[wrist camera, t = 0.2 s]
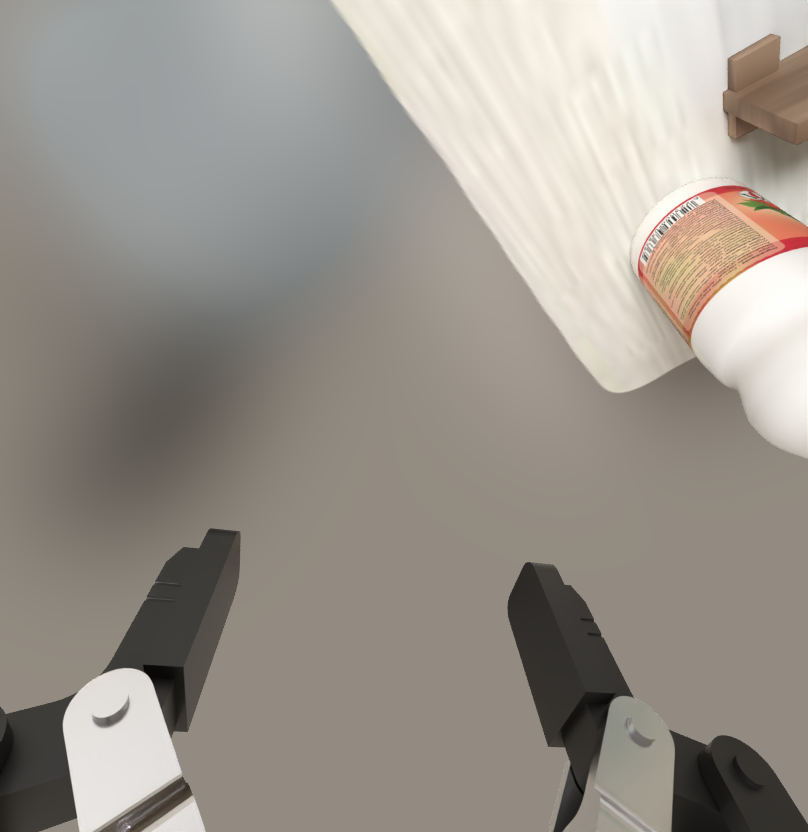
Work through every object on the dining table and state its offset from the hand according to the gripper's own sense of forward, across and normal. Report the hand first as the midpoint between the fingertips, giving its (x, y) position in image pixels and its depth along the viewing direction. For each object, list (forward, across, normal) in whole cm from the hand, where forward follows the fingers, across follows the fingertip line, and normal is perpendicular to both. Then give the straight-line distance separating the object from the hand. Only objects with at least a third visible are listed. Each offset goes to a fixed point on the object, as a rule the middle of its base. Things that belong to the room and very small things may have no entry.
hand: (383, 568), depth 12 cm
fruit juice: (+30, -25, -11) cm, 40 cm away
